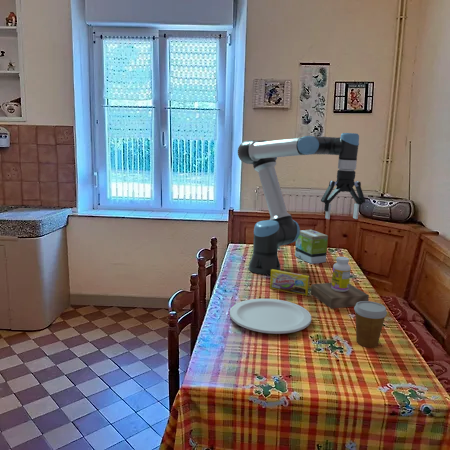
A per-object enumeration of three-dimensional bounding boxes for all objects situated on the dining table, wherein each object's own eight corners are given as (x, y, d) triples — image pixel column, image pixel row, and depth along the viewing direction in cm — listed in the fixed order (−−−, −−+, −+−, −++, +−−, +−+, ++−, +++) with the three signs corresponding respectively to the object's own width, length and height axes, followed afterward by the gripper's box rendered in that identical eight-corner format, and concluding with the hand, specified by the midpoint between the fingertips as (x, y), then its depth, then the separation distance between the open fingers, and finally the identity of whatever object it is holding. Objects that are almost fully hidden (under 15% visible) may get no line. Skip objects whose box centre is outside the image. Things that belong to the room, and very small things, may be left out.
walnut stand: (330, 308, 155) (331, 298, 154) (310, 293, 170) (311, 284, 169) (367, 305, 159) (368, 295, 158) (345, 290, 174) (345, 281, 174)
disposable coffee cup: (358, 332, 135) (361, 298, 133) (387, 342, 129) (391, 306, 127) (346, 343, 128) (349, 306, 126) (376, 353, 122) (381, 315, 120)
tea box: (294, 256, 225) (295, 230, 222) (309, 255, 230) (311, 228, 227) (310, 264, 212) (312, 236, 209) (326, 262, 216) (328, 234, 213)
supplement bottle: (328, 287, 166) (330, 256, 164) (342, 286, 168) (345, 255, 165) (336, 293, 160) (339, 260, 157) (351, 291, 161) (354, 260, 159)
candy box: (269, 288, 174) (270, 270, 173) (271, 287, 176) (272, 268, 174) (306, 296, 167) (308, 276, 165) (308, 294, 169) (309, 275, 167)
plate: (224, 333, 132) (224, 327, 132) (234, 301, 159) (234, 295, 159) (313, 342, 128) (314, 335, 128) (308, 307, 156) (309, 301, 155)
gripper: (367, 169, 184) (361, 216, 189) (315, 168, 178) (311, 217, 183) (377, 171, 177) (371, 220, 182) (324, 170, 171) (319, 220, 175)
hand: (341, 218), depth 182 cm, fingers open, 13 cm apart
